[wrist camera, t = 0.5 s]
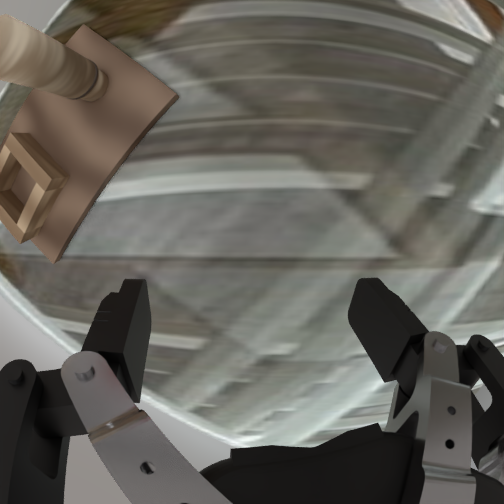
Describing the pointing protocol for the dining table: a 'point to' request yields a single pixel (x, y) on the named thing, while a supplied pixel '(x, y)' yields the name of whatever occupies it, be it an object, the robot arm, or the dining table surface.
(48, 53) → the birch peg
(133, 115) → the walnut board
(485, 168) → the dining table surface
